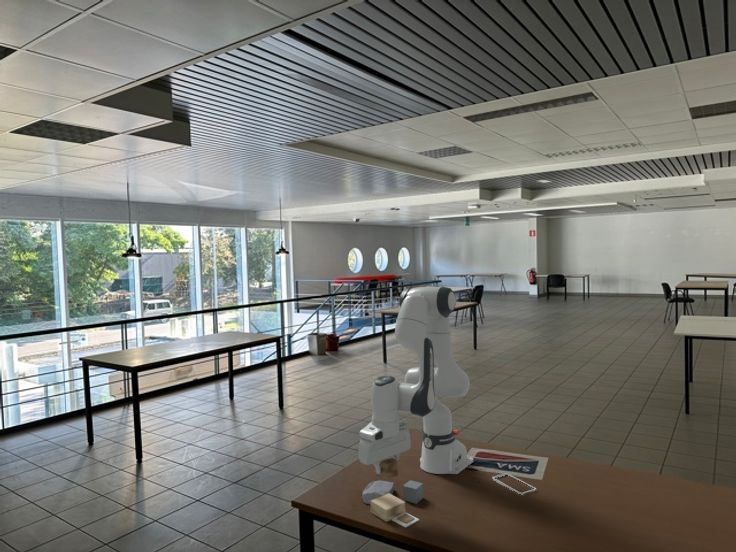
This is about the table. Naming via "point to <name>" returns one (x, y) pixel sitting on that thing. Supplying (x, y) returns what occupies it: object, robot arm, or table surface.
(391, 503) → the oak base block
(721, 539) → the table surface
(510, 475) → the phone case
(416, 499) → the slate cube
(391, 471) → the walnut cube
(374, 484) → the stone block
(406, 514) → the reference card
